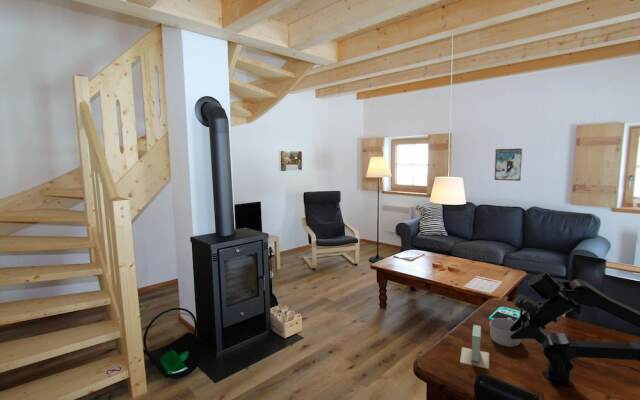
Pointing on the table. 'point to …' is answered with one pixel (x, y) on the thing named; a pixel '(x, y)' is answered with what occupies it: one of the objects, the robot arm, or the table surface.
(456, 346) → the table surface
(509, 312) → the handheld game console
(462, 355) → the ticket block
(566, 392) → the table surface
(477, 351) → the pale mint rectangular box
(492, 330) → the teacup
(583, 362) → the table surface
